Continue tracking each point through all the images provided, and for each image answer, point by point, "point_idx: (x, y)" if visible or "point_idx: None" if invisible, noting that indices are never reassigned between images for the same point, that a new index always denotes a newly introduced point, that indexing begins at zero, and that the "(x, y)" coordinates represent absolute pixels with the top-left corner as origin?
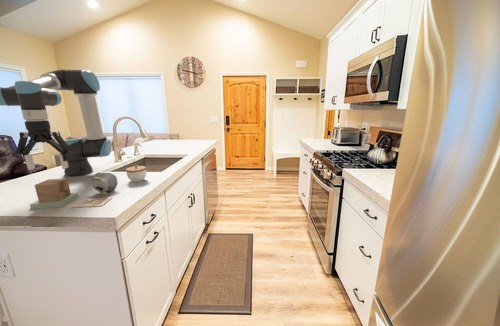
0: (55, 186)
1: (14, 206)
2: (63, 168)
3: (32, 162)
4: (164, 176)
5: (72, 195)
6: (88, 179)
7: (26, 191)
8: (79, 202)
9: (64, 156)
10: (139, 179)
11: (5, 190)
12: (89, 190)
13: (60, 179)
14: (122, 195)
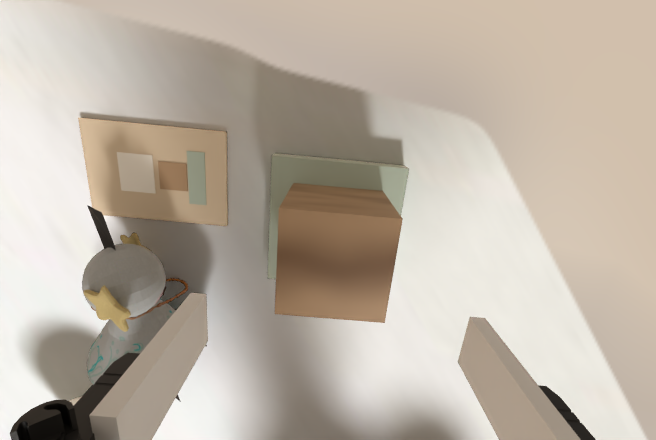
0: (281, 204)
1: (491, 212)
2: (195, 295)
3: (487, 401)
4: (6, 437)
5: (271, 245)
6: None
7: (534, 376)
8: (215, 182)
9: (91, 400)
10: (72, 399)
11: (625, 405)
12: (264, 332)
13: (306, 302)
14: (66, 237)
